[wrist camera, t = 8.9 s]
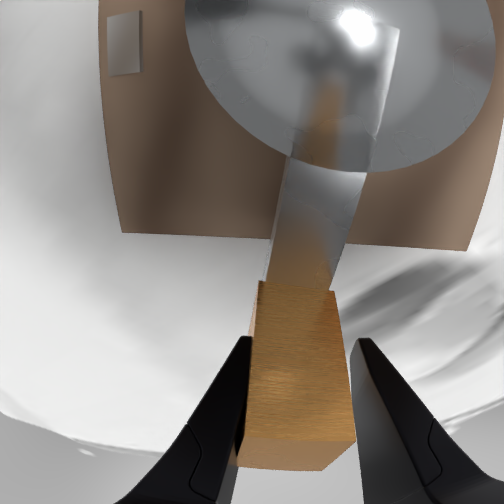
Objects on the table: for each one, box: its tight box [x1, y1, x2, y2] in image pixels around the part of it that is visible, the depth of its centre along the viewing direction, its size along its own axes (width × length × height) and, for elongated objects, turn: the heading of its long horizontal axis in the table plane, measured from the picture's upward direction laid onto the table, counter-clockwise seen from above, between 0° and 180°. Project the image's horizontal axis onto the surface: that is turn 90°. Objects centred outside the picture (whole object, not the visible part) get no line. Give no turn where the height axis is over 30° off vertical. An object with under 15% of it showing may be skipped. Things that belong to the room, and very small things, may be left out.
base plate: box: [98, 0, 504, 251], centre depth 10 cm, size 20×20×4 cm
